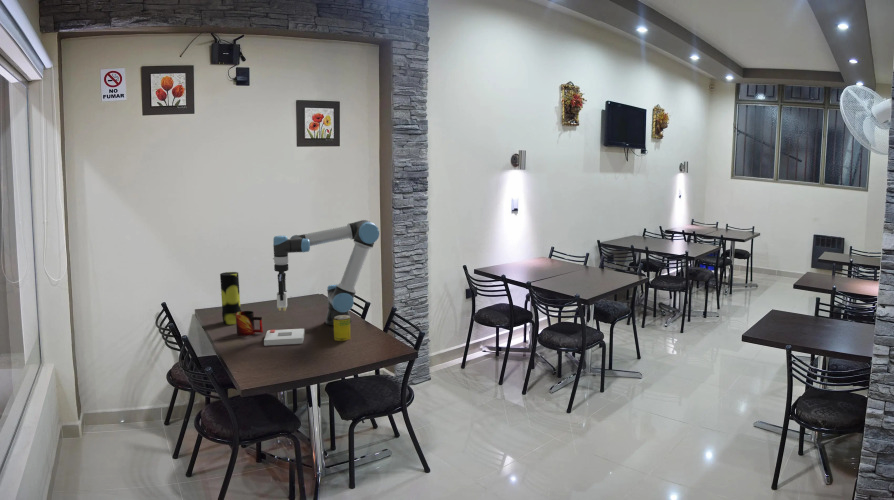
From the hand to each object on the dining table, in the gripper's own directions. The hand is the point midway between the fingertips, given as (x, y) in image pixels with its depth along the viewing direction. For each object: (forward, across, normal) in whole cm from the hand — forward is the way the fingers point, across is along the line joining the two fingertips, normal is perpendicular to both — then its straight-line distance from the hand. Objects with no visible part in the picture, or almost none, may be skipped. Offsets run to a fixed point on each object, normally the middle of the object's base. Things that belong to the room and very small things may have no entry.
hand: (282, 304), depth 345 cm
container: (+18, -29, -34) cm, 48 cm away
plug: (+3, 0, 0) cm, 3 cm away
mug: (+18, -5, -19) cm, 27 cm away
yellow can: (+17, +13, +33) cm, 39 cm away
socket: (+17, +10, +2) cm, 20 cm away
